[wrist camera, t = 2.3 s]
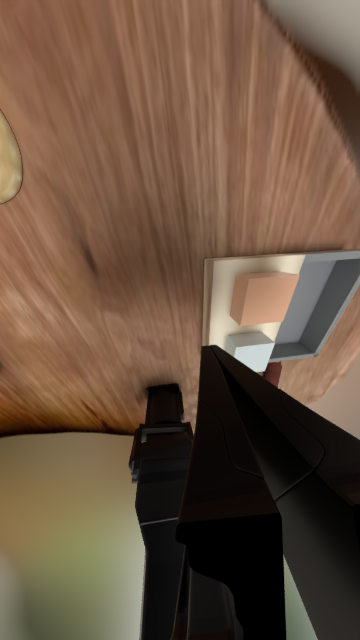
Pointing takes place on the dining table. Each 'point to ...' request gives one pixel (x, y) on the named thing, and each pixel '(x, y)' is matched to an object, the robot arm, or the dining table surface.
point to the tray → (317, 302)
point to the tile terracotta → (262, 297)
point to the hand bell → (9, 162)
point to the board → (221, 293)
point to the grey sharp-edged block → (250, 349)
